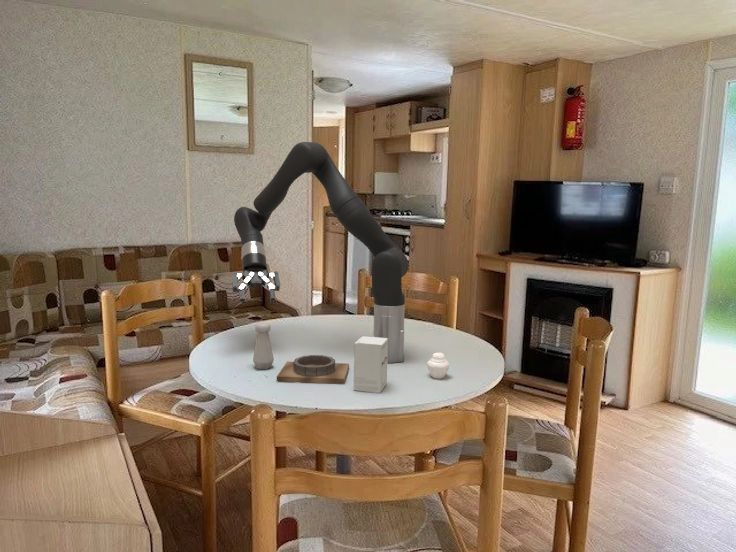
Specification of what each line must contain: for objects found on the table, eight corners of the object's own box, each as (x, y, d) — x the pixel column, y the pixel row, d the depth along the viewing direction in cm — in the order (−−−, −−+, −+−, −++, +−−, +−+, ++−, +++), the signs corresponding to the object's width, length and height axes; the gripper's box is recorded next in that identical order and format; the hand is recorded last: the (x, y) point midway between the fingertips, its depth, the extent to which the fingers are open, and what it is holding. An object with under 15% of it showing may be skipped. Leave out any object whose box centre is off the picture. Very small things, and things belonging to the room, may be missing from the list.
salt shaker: (260, 363, 157) (259, 320, 155) (277, 365, 155) (277, 322, 153) (249, 369, 151) (248, 324, 149) (266, 371, 149) (266, 326, 147)
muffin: (436, 371, 151) (437, 347, 150) (453, 377, 147) (454, 352, 146) (421, 376, 147) (422, 351, 146) (438, 382, 143) (439, 356, 142)
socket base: (349, 368, 153) (349, 355, 152) (344, 384, 140) (344, 369, 139) (287, 366, 154) (287, 353, 153) (276, 381, 141) (276, 367, 141)
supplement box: (380, 393, 134) (381, 344, 132) (352, 390, 136) (353, 342, 134) (387, 384, 141) (388, 337, 139) (360, 381, 143) (361, 335, 141)
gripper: (231, 251, 165) (234, 295, 156) (277, 251, 169) (283, 294, 160) (230, 266, 170) (233, 309, 162) (275, 265, 175) (280, 307, 166)
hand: (257, 301), depth 161 cm, fingers open, 8 cm apart
